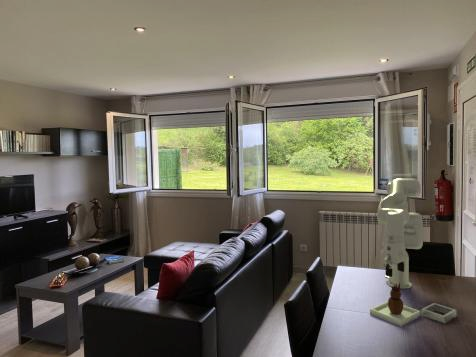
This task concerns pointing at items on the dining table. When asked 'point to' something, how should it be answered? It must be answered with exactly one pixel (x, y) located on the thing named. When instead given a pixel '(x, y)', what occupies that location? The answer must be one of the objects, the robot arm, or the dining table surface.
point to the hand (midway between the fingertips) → (395, 273)
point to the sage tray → (401, 319)
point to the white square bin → (441, 318)
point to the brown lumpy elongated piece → (395, 300)
